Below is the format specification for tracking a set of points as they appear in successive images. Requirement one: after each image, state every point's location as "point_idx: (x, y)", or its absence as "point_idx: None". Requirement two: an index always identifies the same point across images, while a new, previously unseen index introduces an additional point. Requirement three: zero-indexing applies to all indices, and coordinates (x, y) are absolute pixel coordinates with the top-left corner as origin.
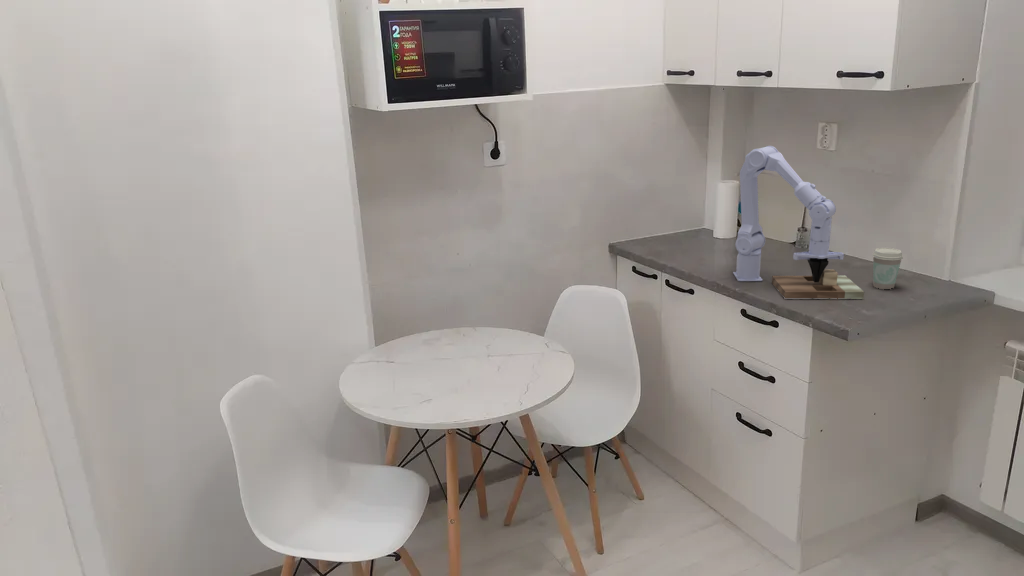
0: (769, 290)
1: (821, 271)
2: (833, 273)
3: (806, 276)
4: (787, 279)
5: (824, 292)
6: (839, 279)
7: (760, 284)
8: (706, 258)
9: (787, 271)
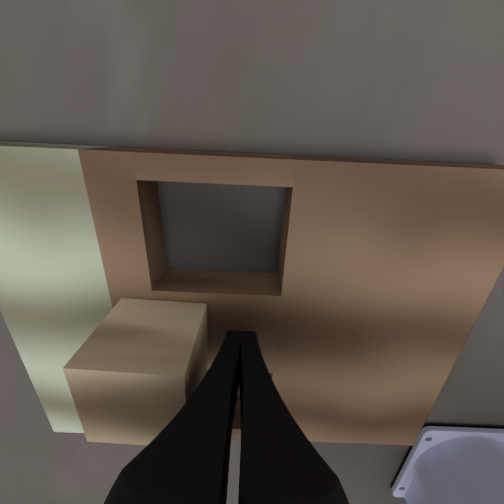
0: None
1: (209, 392)
2: (104, 367)
3: None
4: (368, 400)
5: (242, 157)
6: None
7: (453, 397)
8: None
9: None
